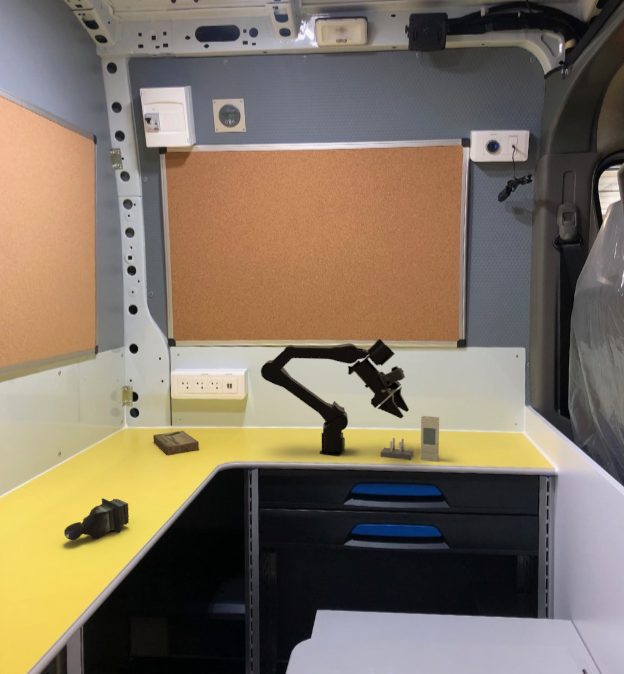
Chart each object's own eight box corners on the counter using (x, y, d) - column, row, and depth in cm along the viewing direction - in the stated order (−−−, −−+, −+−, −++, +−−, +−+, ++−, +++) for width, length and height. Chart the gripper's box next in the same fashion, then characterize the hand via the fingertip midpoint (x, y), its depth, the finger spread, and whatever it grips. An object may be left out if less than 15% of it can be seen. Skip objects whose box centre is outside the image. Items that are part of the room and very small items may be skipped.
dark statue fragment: (59, 544, 111) (58, 514, 110) (113, 520, 122) (112, 493, 121) (78, 552, 107) (76, 521, 107) (132, 527, 118) (131, 499, 118)
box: (167, 456, 169) (166, 447, 168) (152, 443, 183) (152, 434, 183) (200, 451, 174) (199, 441, 174) (183, 438, 189) (183, 429, 189)
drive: (420, 459, 163) (421, 417, 162) (421, 457, 166) (422, 415, 164) (437, 461, 162) (438, 419, 160) (438, 459, 164) (439, 417, 163)
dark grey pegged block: (380, 456, 166) (380, 440, 166) (384, 452, 171) (384, 436, 170) (409, 459, 163) (410, 443, 163) (412, 455, 168) (412, 439, 167)
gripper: (382, 362, 157) (419, 403, 154) (395, 355, 174) (428, 391, 171) (355, 387, 160) (391, 427, 157) (370, 377, 178) (403, 413, 175)
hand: (405, 414), depth 165 cm, fingers open, 9 cm apart
